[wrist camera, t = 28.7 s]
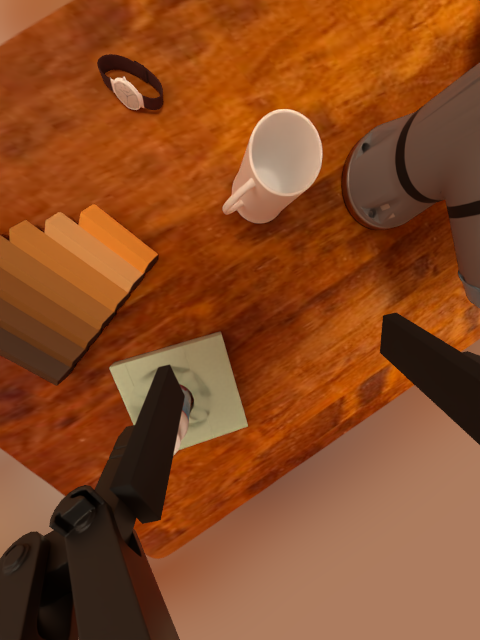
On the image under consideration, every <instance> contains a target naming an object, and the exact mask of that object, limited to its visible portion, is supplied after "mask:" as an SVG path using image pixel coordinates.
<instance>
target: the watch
mask: <svg viewBox="0 0 480 640" xmlns="http://www.w3.org/2000/svg"><path fill="white" fill-rule="evenodd" d="M97 64H98V68H99V71H100V73H101V76H102V78H103V81H104V83H105V84H106V86H107V87H108V88H109V89H111V90H112V91H113V92H114V93H115V94H116V95H117V97H118V98H119V99H120V101H121V102H122V103H123V104H124V105H125V106H127V107H129V108H130V109H133V110H138V109H140V108H141V107H143V108H147V109H150V110H157V109H160V108H161V107H162V105H163V89H162V86H161V83H160V82H159V80H158V79H157V78H156V77H155V76H154V75H153V74H152V73H151V72H150V71H149V70H148V69H147V68H145V67H144V66H143V65H141V64H139V63H138V62H136V61H134V62H133V61H131V60H130V59H128V58H125V57H122V56H119V55H112V54H110V55H104V56H102V57H100V58H99V59H98V62H97ZM110 70H123V71H126V72H129V73H131V74H133V75H135V76H137V77H139V78H141V79H142V80H144V81H145V82H146V83H149V84H151V85H152V86H153V87H154V88H155V89H156V90H157V91H158V92H159V93H160V97H158V98H148V97H145V96H143V95H142V94H139V92H138V91H137V90H136V88H135V87H134V86H133V85H132V84H131V83H130V82H128V81H127V80H126V78H125V77H124V76H123V78H116V79H115V80H113V79H111V78H109V77H107V76H106V75H105V73H106V72H108V71H110Z"/></svg>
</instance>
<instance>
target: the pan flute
mask: <svg viewBox="0 0 480 640" xmlns="http://www.w3.org/2000/svg"><path fill="white" fill-rule="evenodd" d="M9 235H10V241H9V240H7V239H6V238H4V237H3V236H1V235H0V355H1V356H3V357H5V358H7V359H9V360H10V361H12V362H14V363H16V364H18V365H20V366H21V367H23V368H25V369H27V370H29V371H31V372H32V373H34V374H36V375H38V376H40V377H42V378H43V379H45V380H47V381H49V382H51V383H53V384H54V385H56V386H57V385H58V384H60V383H61V382H62V381H63V380H64V379H65V378H66V377H67V376H68V375H69V374H70V373H71V371H72V370H73V369H74V368H75V366H76V365H75V364H76V363H77V362H78V361H79V360H81V358H82V357H83V356H84V355H85V353H86V352H87V351H88V349H89V348H88V347H89V346H90V345H91V344H92V343H93V342H95V340H96V339H97V338H98V336H99V335H100V334H101V333H102V330H101V329H102V328H104V327H105V326H106V325H108V323H109V322H110V321H111V320H112V318H113V317H114V316H115V314H116V313H115V311H116V310H117V309H119V308H120V307H122V305H123V304H124V303H125V301H126V300H127V299H128V298H129V296H130V295H129V292H131V291H132V290H134V289H136V287H137V286H138V285H139V283H140V282H141V281H142V279H143V278H144V275H143V274H144V273H146V272H148V271H149V270H150V269H151V268H152V267H153V265H154V264H155V263H156V261H157V260H158V254H157V253H156V252H155V251H153V250H152V249H151V248H149V247H148V246H147V245H146V244H144V243H143V242H142V241H141V240H139V239H138V238H137V237H136V236H134V235H133V234H132V233H130V232H129V231H128V230H127V229H125V228H124V227H123V226H122V225H120V224H119V223H118V222H117V221H115V220H114V219H113V218H112V217H110V216H109V215H108V214H106V213H105V212H104V211H103V210H101V209H100V208H99V207H98V206H96V205H95V204H93V205H91V206H90V207H88V208H87V209H85V210H83V211H82V212H81V215H80V220H79V224H78V225H77V224H76V223H75V222H73V221H72V220H71V219H69V218H68V217H67V216H65V215H64V214H63V213H61V212H59V213H57V214H56V215H54V216H52V217H50V218H49V219H47V220H46V223H45V233H43V232H42V231H41V230H39V229H38V228H36V227H35V226H34V225H32V224H31V223H29V222H28V221H27V220H24V221H23V222H21V223H19V224H17V225H15V226H13V227H12V228H10V229H9Z"/></svg>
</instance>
